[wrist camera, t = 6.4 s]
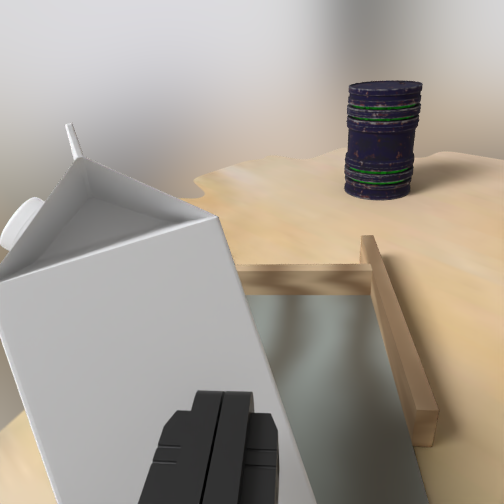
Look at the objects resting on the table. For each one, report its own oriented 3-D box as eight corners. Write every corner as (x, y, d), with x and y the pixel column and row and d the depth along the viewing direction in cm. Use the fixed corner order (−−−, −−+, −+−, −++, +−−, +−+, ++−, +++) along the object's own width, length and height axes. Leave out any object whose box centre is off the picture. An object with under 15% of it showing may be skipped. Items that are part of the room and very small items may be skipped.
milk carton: (284, 533, 21) (157, 165, 21) (368, 646, 14) (180, 100, 14) (141, 620, 18) (-2, 204, 18) (159, 808, 11) (-68, 149, 11)
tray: (371, 260, 45) (373, 235, 43) (468, 559, 19) (481, 521, 18) (192, 262, 47) (189, 237, 46) (71, 533, 22) (55, 497, 20)
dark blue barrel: (371, 205, 59) (379, 91, 52) (330, 186, 67) (333, 85, 60) (425, 191, 62) (440, 83, 55) (381, 175, 70) (389, 78, 63)
